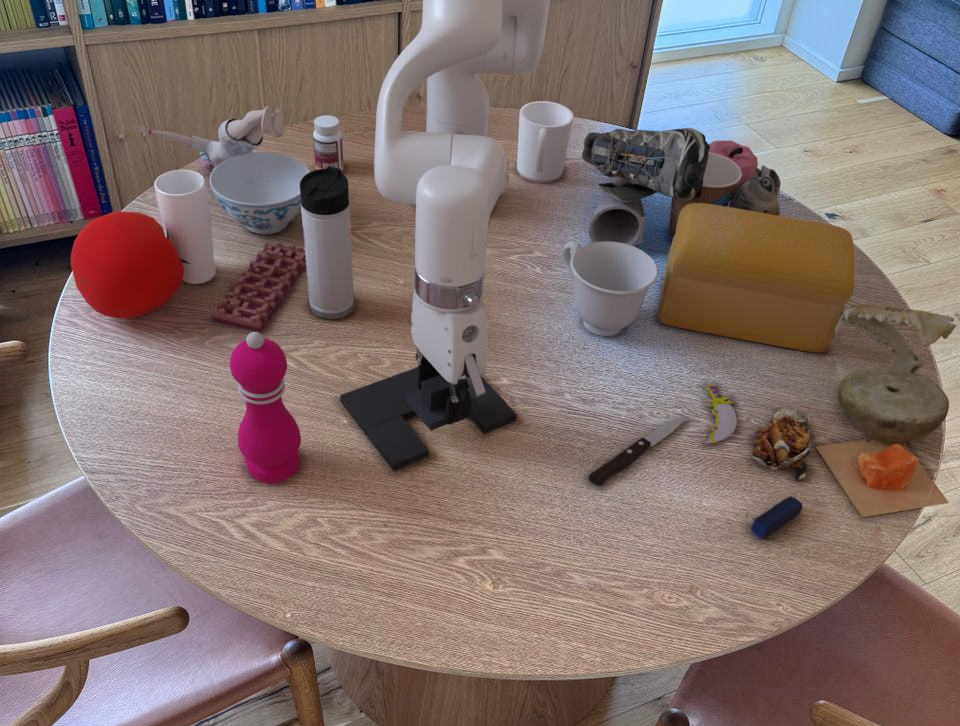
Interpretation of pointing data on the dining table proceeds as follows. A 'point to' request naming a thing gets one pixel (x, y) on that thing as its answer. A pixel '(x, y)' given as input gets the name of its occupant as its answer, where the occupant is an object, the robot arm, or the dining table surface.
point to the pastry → (784, 442)
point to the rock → (881, 476)
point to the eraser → (776, 517)
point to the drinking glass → (188, 221)
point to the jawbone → (888, 335)
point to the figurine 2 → (758, 193)
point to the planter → (618, 219)
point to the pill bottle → (327, 143)
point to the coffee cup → (710, 187)
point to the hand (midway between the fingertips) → (443, 402)
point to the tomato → (126, 265)
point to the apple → (737, 157)
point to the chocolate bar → (262, 287)
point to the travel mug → (327, 242)
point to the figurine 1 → (229, 136)
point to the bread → (757, 277)
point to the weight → (892, 403)
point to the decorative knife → (721, 416)
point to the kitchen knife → (633, 452)
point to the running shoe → (649, 162)
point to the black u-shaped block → (410, 416)
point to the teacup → (608, 283)
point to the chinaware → (259, 189)
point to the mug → (543, 140)
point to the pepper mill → (265, 410)
